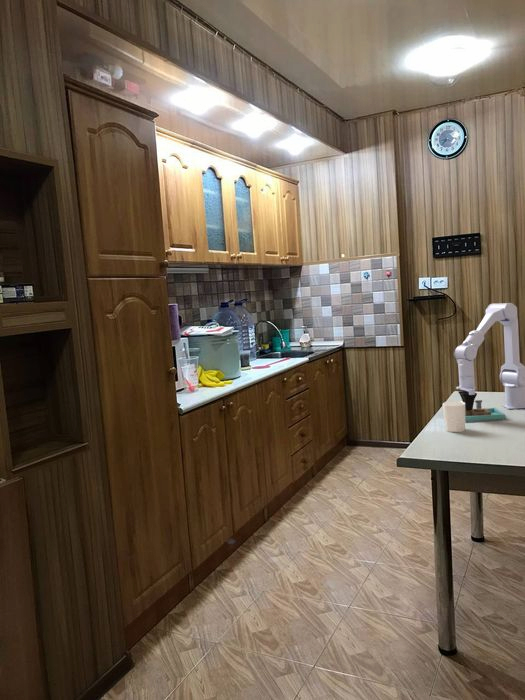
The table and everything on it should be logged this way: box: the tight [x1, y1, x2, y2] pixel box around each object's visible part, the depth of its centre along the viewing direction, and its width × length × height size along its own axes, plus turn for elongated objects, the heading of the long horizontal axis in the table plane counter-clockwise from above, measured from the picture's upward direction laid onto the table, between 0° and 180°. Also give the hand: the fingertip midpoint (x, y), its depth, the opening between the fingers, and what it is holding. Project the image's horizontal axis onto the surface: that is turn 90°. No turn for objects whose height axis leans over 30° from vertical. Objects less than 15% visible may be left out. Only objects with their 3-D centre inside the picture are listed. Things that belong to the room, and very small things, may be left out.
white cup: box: [442, 400, 466, 433], centre depth 202 cm, size 8×8×10 cm
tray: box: [465, 407, 506, 423], centre depth 217 cm, size 16×12×2 cm
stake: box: [474, 399, 483, 409], centre depth 228 cm, size 3×2×4 cm
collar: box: [465, 407, 491, 416], centre depth 217 cm, size 10×7×5 cm
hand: (468, 409), depth 218 cm, fingers closed on collar, 2 cm apart
